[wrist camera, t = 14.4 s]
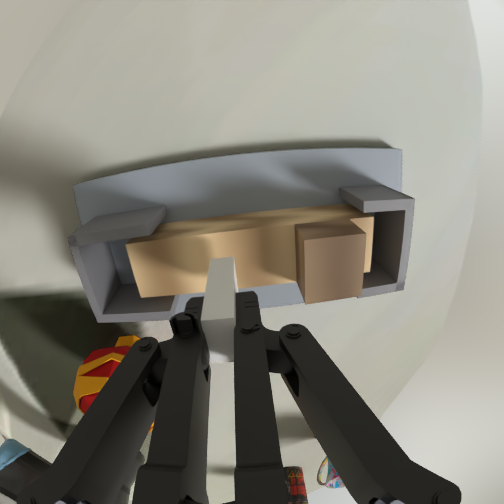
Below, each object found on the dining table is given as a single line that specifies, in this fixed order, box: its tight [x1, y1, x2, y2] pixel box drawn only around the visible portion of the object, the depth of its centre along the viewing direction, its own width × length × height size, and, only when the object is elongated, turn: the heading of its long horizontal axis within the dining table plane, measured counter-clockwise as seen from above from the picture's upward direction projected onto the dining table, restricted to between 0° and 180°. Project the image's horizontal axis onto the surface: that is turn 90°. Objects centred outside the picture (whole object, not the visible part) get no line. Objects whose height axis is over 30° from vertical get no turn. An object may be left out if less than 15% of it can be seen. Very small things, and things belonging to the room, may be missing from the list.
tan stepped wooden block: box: [126, 204, 374, 304], centre depth 20 cm, size 18×4×7 cm, turn 96°
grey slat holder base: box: [67, 147, 415, 323], centre depth 22 cm, size 29×14×6 cm, turn 95°
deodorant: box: [283, 467, 308, 504], centre depth 40 cm, size 6×6×15 cm
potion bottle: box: [73, 335, 154, 433], centre depth 23 cm, size 10×10×15 cm
